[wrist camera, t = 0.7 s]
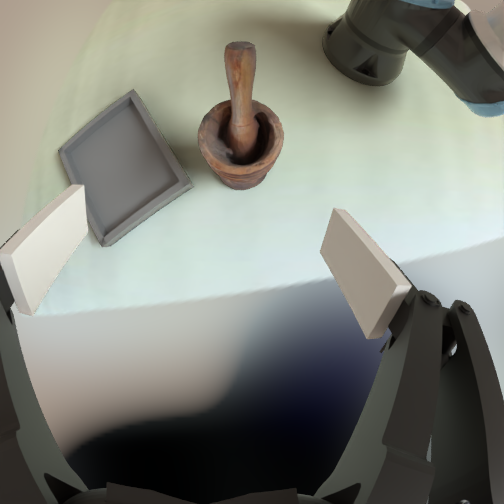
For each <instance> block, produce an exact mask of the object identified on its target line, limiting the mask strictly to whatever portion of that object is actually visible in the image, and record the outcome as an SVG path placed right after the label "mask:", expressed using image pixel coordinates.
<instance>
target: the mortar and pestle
mask: <svg viewBox="0 0 504 504" xmlns="http://www.w3.org/2000/svg"><path fill="white" fill-rule="evenodd" d="M224 58H225V68H226V74H227V80H228V85H229V89H230V96H231V100H227V101H224V102H221V103H219V104H217V105H216V106H215V107H213V108H212V109H211V110H210V111H209V112H208V113H207V114H206V115H205V116H204V118H203V120H202V122H201V124H200V127H199V130H198V143H199V147H200V151H201V153H202V155H203V156H204V158H205V159H206V161H207V163H208V164H209V166H210V167H211V168H212V170H213V171H214V172H215V173H216V174H218V175H219V176H220V178H221V180H222V181H223V183H225V184H226V185H227V186H229V187H231V188H233V189H235V190H246V189H250V188H252V187H255V186H257V185H258V184H259V183H261V182H262V181H263V179H264V178H265V176H266V174H267V172H268V171H269V170H270V169H271V168H272V167H273V165H274V163H275V161H276V159H277V157H278V156H279V154H280V152H281V149H282V145H283V140H284V132H283V129H282V124H281V123H280V121H279V118H278V116H277V115H276V114H275V113H274V112H273V111H272V110H271V109H270V108H268V107H267V106H265V105H264V104H261V103H259V102H258V101H255V100H252V88H253V81H254V76H255V69H256V50H255V45H253V44H252V43H250V42H232V43H230V44H228V45H227V46H226V48H225V55H224Z"/></svg>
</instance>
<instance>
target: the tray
mask: <svg viewBox="0 0 504 504" xmlns="http://www.w3.org/2000/svg"><path fill="white" fill-rule="evenodd" d="M58 151H59V154H60V157H61V159H62V162H63V164H64V167H65V170H66V172H67V174H68V177H69V179H70V182H71V184H72V185H84V191H85V205H86V216H87V219H88V221H89V223H90V225H91V227H92V229H93V231H94V233H95V235H96V237H97V239H98V241H99V243H100V245H101V246H102V247H108V246H112V245H113V244H114V243H116V242H117V241H118V240H119V239H121V238H122V237H123V236H125V235H126V234H127V233H129V232H130V231H131V230H133V229H134V228H135V227H137V226H138V225H139V224H141V223H142V222H143V221H145V220H146V219H148V218H149V217H150V216H152V215H153V214H155V213H156V212H157V211H159V210H160V209H162V208H163V207H165V206H166V205H167V204H169V203H170V202H172V201H173V200H175V199H176V198H178V197H179V196H181V195H182V194H184V193H185V192H187V191H188V190H190V189H191V188H193V187H194V186H193V184H192V183H191V181H190V179H189V178H188V176H187V174H186V173H185V171H184V170H183V168H182V166H181V165H180V163H179V161H178V160H177V158H176V156H175V155H174V153H173V152H172V150H171V148H170V147H169V145H168V143H167V142H166V140H165V138H164V137H163V135H162V133H161V132H160V130H159V128H158V127H157V125H156V123H155V122H154V120H153V118H152V117H151V115H150V113H149V112H148V110H147V108H146V107H145V105H144V103H143V102H142V100H141V98H140V97H139V95H138V94H137V93H136V92H135V91H134V89H133V90H131V91H130V92H128V93H127V94H125V95H124V96H123V97H121V98H120V99H118V100H117V101H116V102H114V103H113V104H112V105H110V106H109V107H108V108H106V109H105V110H104V111H103V112H101V113H100V114H99V115H98V116H96V117H95V118H94V119H93V120H91V121H90V122H89V123H88V124H87V125H86V126H84V127H83V128H82V129H81V130H80V131H79V132H78V133H76V134H75V135H74V136H73V137H72V138H71V139H70V140H69V141H68V142H67V143H65V144H64V145H63V146H62V147H61V148H60V149H59V150H58Z"/></svg>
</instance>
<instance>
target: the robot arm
mask: <svg viewBox="0 0 504 504" xmlns="http://www.w3.org/2000/svg"><path fill="white" fill-rule="evenodd" d="M454 1H455V0H351V2H350V4H349V6H348V9H347V11H346V13H344V14H343V15H342V16H340V17H339V18H338V19H336V20H335V21H334V22H333V23H331V24H330V25H329V27H328V28H327V30H326V32H325V34H324V37H323V49H324V52H325V54H326V56H327V57H328V59H329V60H330V62H331V63H332V64H333V65H334V66H335V67H336V68H337V69H338V70H339V71H341V72H342V73H343V74H345V75H346V76H348V77H349V78H351V79H353V80H355V81H358V82H360V83H363V84H367V85H372V86H383V85H387V84H389V83H391V82H392V81H394V80H395V79H396V78H397V77H398V76H399V74H400V73H401V71H402V68H403V65H404V61H405V57H406V54H407V51H408V50H409V49H410V50H411V51H412V52H413V53H414V54H416V55H417V56H418V57H419V58H420V59H421V60H422V61H423V62H424V63H426V64H427V65H428V66H429V67H430V68H431V69H432V70H433V71H434V72H435V73H436V74H437V75H438V76H439V77H440V78H441V79H442V80H443V81H444V82H445V83H446V84H447V85H448V86H449V87H450V88H451V89H452V90H453V92H454V93H455V95H456V96H457V97H458V98H459V99H460V100H461V101H463V102H464V103H465V104H466V105H467V107H468V108H469V109H470V110H471V111H472V112H474V113H475V114H477V115H479V116H482V117H496V116H500V115H503V114H504V0H503V1H502V2H501V3H500V4H498V5H497V6H496V7H495V8H494V9H492V10H491V11H490V12H489V13H483V12H481V11H477V10H472V11H470V12H469V13H468V14H467V15H466V16H465V15H464V14H463V13H462V12H460V11H459V10H458V9H457V8H456V7H455V6H454ZM87 233H88V225H87V216H86V205H85V191H84V185H71V186H70V187H68V188H67V189H66V190H65V191H63V192H62V193H61V194H60V195H58V196H57V197H56V198H55V199H53V200H52V201H51V202H50V203H49V204H48V205H46V206H45V207H44V208H43V209H42V210H41V211H39V212H38V213H37V214H36V215H35V216H34V217H33V218H32V219H31V220H29V221H28V222H27V223H26V224H25V225H24V226H23V227H22V228H21V229H19V230H17V231H16V232H15V233H14V234H13V235H12V236H11V238H9V239H8V240H7V241H6V243H4V244H3V246H2V247H1V248H0V504H195V503H191V502H188V501H184V500H180V499H177V498H173V497H170V496H167V495H164V494H161V493H158V492H155V491H152V490H146V489H139V488H133V487H128V486H122V485H118V484H113V483H109V482H107V488H102V489H94V490H88V489H87V487H86V486H85V485H84V483H83V482H82V480H81V479H80V478H79V477H78V476H77V474H76V473H75V472H74V471H73V470H72V469H71V467H70V466H69V465H68V463H67V462H66V460H65V458H64V457H63V455H62V453H61V451H60V449H59V447H58V445H57V443H56V441H55V439H54V437H53V435H52V433H51V431H50V429H49V427H48V425H47V422H46V420H45V418H44V415H43V413H42V411H41V408H40V406H39V403H38V400H37V398H36V395H35V392H34V389H33V387H32V384H31V381H30V378H29V375H28V372H27V368H26V365H25V362H24V358H23V354H22V351H21V347H20V343H19V339H18V334H17V330H16V325H15V320H14V315H13V313H12V310H11V308H10V307H11V306H12V304H13V303H14V301H15V304H16V306H17V308H18V311H19V313H22V314H26V315H31V316H33V315H34V314H35V312H36V310H37V308H38V307H39V305H40V303H41V302H42V300H43V298H44V296H45V295H46V293H47V292H48V290H49V288H50V287H51V285H52V284H53V282H54V280H55V279H56V277H57V276H58V274H59V273H60V271H61V270H62V268H63V267H64V265H65V264H66V262H67V261H68V259H69V258H70V257H71V255H72V254H73V252H74V251H75V250H76V248H77V247H78V245H79V244H80V243H81V241H82V240H83V239H84V237H85V236H86V235H87ZM320 253H321V255H322V257H323V258H324V260H325V262H326V264H327V265H328V267H329V269H330V271H331V273H332V274H333V276H334V278H335V280H336V281H337V283H338V285H339V287H340V289H341V290H342V292H343V294H344V296H345V298H346V300H347V302H348V304H349V305H350V307H351V309H352V311H353V313H354V315H355V317H356V319H357V321H358V322H359V324H360V326H361V328H362V330H363V332H364V334H365V336H366V338H367V339H373V338H381V337H382V336H383V334H384V333H385V331H386V330H387V328H388V327H389V329H390V331H391V332H392V334H391V336H390V338H389V339H388V340H387V342H386V343H385V345H384V346H383V348H382V349H381V350H380V352H381V353H382V352H383V351H384V354H383V357H382V360H381V363H380V366H379V369H378V372H377V375H376V378H375V380H374V383H373V386H372V389H371V391H370V394H369V396H368V399H367V402H366V404H365V407H364V409H363V411H362V414H361V416H360V419H359V421H358V423H357V425H356V428H355V430H354V432H353V434H352V436H351V438H350V441H349V443H348V445H347V447H346V449H345V451H344V453H343V455H342V457H341V459H340V461H339V462H338V465H337V466H336V468H335V470H334V472H333V473H332V474H331V476H330V477H329V478H328V479H327V480H326V481H325V482H324V483H323V484H322V486H321V487H320V488H319V489H318V491H317V492H316V494H315V495H314V497H312V496H308V495H302V494H297V491H296V488H293V489H286V490H279V491H270V492H262V493H261V492H260V493H251V494H247V495H243V496H240V497H236V498H232V499H228V500H225V501H220V502H216V503H211V504H426V502H427V499H428V496H429V501H428V504H504V400H503V396H502V392H501V388H500V384H499V380H498V377H497V373H496V370H495V367H494V363H493V360H492V357H491V354H490V351H489V348H488V346H487V343H486V340H485V337H484V335H483V332H482V329H481V327H480V324H479V322H478V319H477V317H476V315H475V313H474V311H473V309H472V308H471V307H470V305H469V304H467V303H466V302H463V301H460V300H455V301H454V303H453V304H452V306H451V308H450V309H449V308H445V307H442V305H441V302H440V301H439V300H438V299H437V298H436V297H435V296H434V295H432V294H431V293H429V292H427V291H423V290H420V291H418V290H417V289H416V287H415V286H414V285H413V284H412V282H411V281H410V280H409V279H408V277H407V276H406V275H404V273H403V271H402V270H400V268H399V267H398V265H397V264H396V263H395V262H394V261H393V260H391V259H390V258H389V257H388V256H387V255H386V254H385V253H384V251H383V250H382V249H381V248H380V247H379V246H378V245H377V243H376V242H375V241H374V240H373V239H372V238H371V237H370V236H369V235H368V233H367V232H366V231H365V230H364V229H363V228H362V227H361V226H360V225H359V224H358V223H357V221H356V220H355V219H354V218H353V217H352V216H351V215H350V214H349V213H348V212H347V211H346V210H342V209H336V208H333V211H332V214H331V218H330V221H329V224H328V228H327V231H326V234H325V237H324V240H323V243H322V246H321V250H320ZM456 344H457V349H456V352H455V353H454V355H452V353H451V351H452V349H453V348H454V347H455V345H456ZM430 438H432V439H431V442H432V443H431V445H432V446H431V462H429V461H427V459H426V456H427V451H428V446H429V442H430Z"/></svg>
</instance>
